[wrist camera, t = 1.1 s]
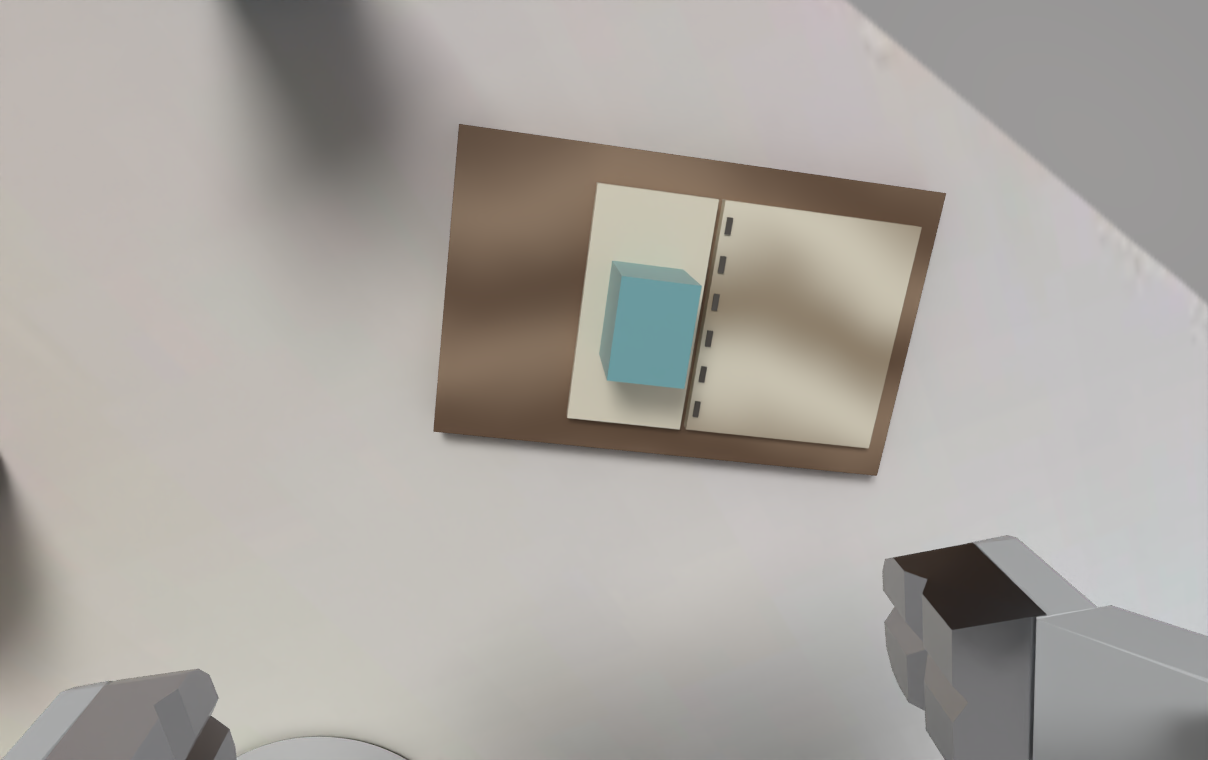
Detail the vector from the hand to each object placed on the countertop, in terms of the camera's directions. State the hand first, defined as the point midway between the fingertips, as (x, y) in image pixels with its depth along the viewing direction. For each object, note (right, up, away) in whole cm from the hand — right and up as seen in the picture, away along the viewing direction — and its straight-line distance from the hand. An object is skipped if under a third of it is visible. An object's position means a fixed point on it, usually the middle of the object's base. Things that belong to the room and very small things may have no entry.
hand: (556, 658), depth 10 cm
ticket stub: (+2, +6, +25) cm, 26 cm away
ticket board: (+4, +7, +27) cm, 28 cm away
